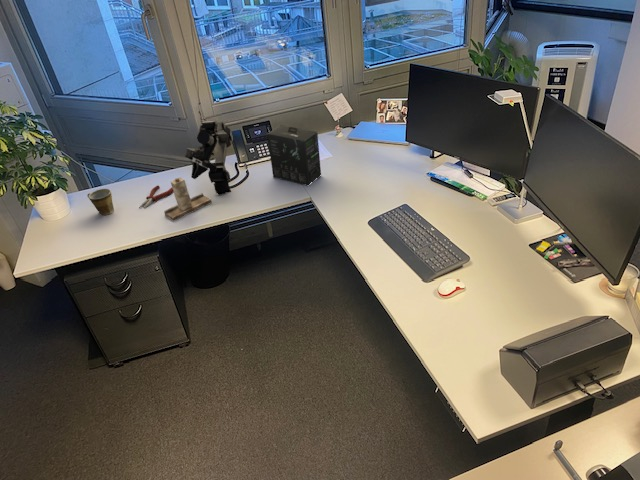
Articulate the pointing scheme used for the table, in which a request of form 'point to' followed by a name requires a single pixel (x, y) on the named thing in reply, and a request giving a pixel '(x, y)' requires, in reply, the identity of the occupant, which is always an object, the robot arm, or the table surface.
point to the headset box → (294, 154)
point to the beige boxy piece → (181, 193)
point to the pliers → (157, 197)
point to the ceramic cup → (102, 201)
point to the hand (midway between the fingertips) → (193, 178)
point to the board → (196, 202)
